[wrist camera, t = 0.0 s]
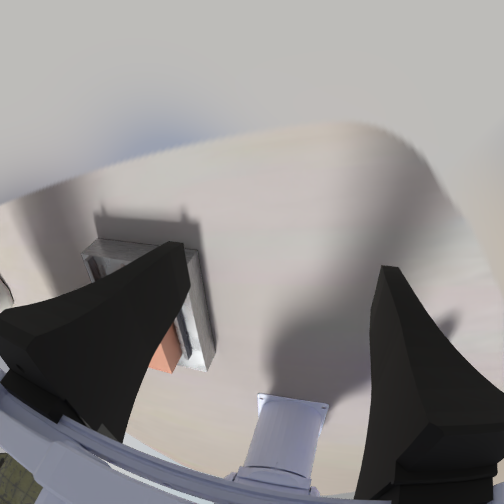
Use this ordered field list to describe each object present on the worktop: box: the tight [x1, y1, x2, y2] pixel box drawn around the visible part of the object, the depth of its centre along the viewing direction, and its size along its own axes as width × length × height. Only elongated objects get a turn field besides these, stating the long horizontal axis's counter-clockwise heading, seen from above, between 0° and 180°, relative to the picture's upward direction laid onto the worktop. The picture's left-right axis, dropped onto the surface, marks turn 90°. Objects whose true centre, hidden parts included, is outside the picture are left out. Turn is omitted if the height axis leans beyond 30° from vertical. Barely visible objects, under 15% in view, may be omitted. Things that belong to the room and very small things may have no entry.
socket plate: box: [81, 239, 216, 372], centre depth 28 cm, size 12×10×3 cm
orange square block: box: [148, 322, 183, 374], centre depth 26 cm, size 6×6×2 cm
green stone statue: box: [0, 453, 43, 504], centre depth 27 cm, size 9×12×35 cm
